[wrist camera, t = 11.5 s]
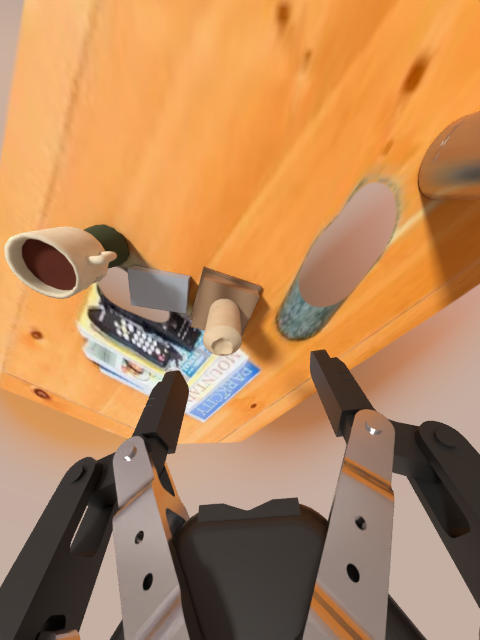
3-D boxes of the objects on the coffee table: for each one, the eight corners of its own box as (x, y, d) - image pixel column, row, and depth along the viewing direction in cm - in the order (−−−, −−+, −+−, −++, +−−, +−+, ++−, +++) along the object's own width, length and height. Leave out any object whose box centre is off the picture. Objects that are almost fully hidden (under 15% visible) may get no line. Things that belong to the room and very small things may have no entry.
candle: (245, 310, 34) (250, 346, 25) (226, 329, 36) (224, 368, 28) (222, 291, 32) (218, 324, 23) (203, 313, 34) (193, 350, 25)
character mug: (88, 268, 33) (17, 302, 22) (66, 223, 29) (-35, 237, 18) (150, 264, 33) (109, 295, 22) (135, 218, 29) (76, 228, 18)
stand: (261, 286, 36) (264, 294, 32) (241, 331, 41) (241, 342, 38) (203, 266, 33) (200, 274, 30) (190, 317, 39) (186, 328, 36)
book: (190, 275, 34) (188, 279, 32) (188, 308, 38) (185, 313, 36) (132, 265, 33) (127, 268, 31) (135, 300, 36) (131, 305, 35)
